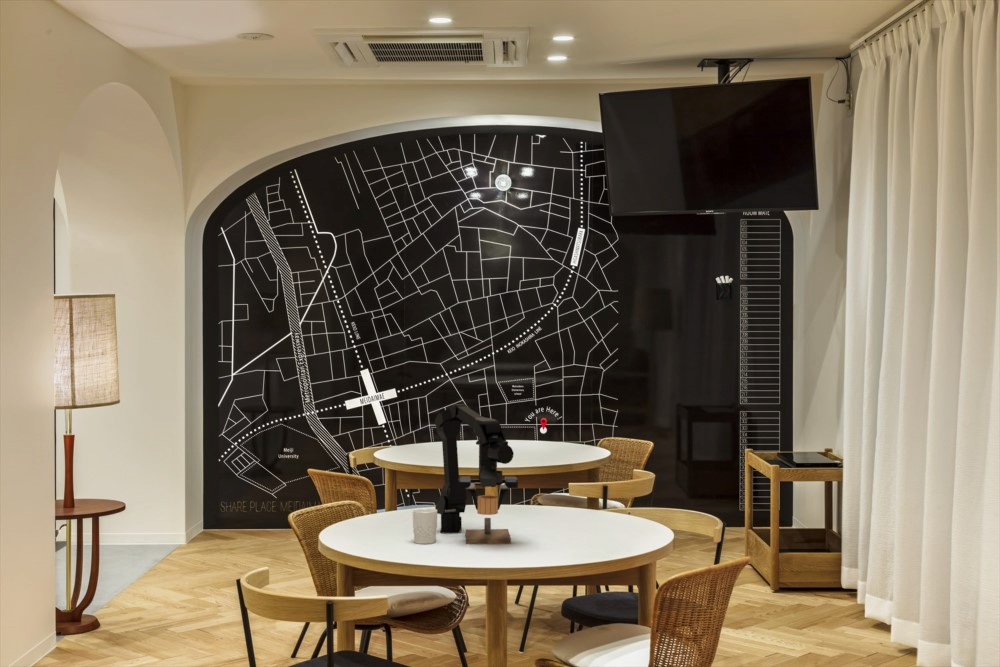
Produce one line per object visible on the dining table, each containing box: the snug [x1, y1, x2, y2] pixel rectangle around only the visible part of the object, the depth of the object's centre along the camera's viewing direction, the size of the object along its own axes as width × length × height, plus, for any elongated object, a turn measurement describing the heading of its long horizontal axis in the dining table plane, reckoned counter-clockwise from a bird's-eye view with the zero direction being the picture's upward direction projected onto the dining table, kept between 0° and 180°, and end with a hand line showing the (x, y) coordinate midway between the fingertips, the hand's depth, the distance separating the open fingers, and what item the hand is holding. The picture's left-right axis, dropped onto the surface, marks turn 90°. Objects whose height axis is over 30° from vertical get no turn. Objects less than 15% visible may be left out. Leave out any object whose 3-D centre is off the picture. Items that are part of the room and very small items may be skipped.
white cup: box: [412, 508, 438, 545], centre depth 306 cm, size 8×8×10 cm
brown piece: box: [465, 517, 512, 545], centre depth 311 cm, size 14×16×6 cm
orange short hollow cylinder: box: [476, 494, 499, 516], centre depth 303 cm, size 6×6×5 cm
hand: (487, 509), depth 303 cm, fingers closed on orange short hollow cylinder, 6 cm apart
